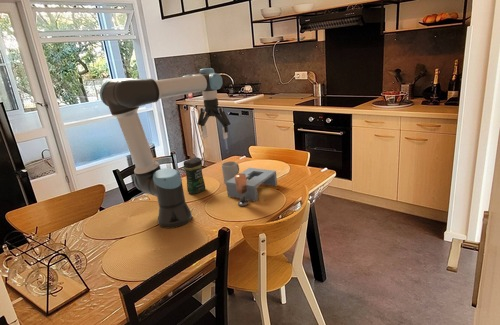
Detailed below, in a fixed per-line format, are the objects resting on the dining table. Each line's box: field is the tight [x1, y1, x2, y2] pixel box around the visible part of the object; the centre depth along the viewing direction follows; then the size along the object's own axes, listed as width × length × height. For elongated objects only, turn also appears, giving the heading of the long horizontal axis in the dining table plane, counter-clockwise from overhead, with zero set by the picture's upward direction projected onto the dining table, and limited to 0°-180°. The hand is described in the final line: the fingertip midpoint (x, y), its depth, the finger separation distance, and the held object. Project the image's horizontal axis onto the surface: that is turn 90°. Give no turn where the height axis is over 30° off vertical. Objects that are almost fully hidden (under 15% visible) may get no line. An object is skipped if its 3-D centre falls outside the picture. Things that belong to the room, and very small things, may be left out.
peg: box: [235, 172, 250, 208], centre depth 159 cm, size 5×5×15 cm
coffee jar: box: [183, 156, 206, 195], centre depth 181 cm, size 10×8×19 cm
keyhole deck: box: [225, 167, 278, 202], centre depth 175 cm, size 22×17×8 cm
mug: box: [221, 160, 240, 185], centre depth 191 cm, size 12×8×11 cm
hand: (215, 137), depth 183 cm, fingers open, 13 cm apart
